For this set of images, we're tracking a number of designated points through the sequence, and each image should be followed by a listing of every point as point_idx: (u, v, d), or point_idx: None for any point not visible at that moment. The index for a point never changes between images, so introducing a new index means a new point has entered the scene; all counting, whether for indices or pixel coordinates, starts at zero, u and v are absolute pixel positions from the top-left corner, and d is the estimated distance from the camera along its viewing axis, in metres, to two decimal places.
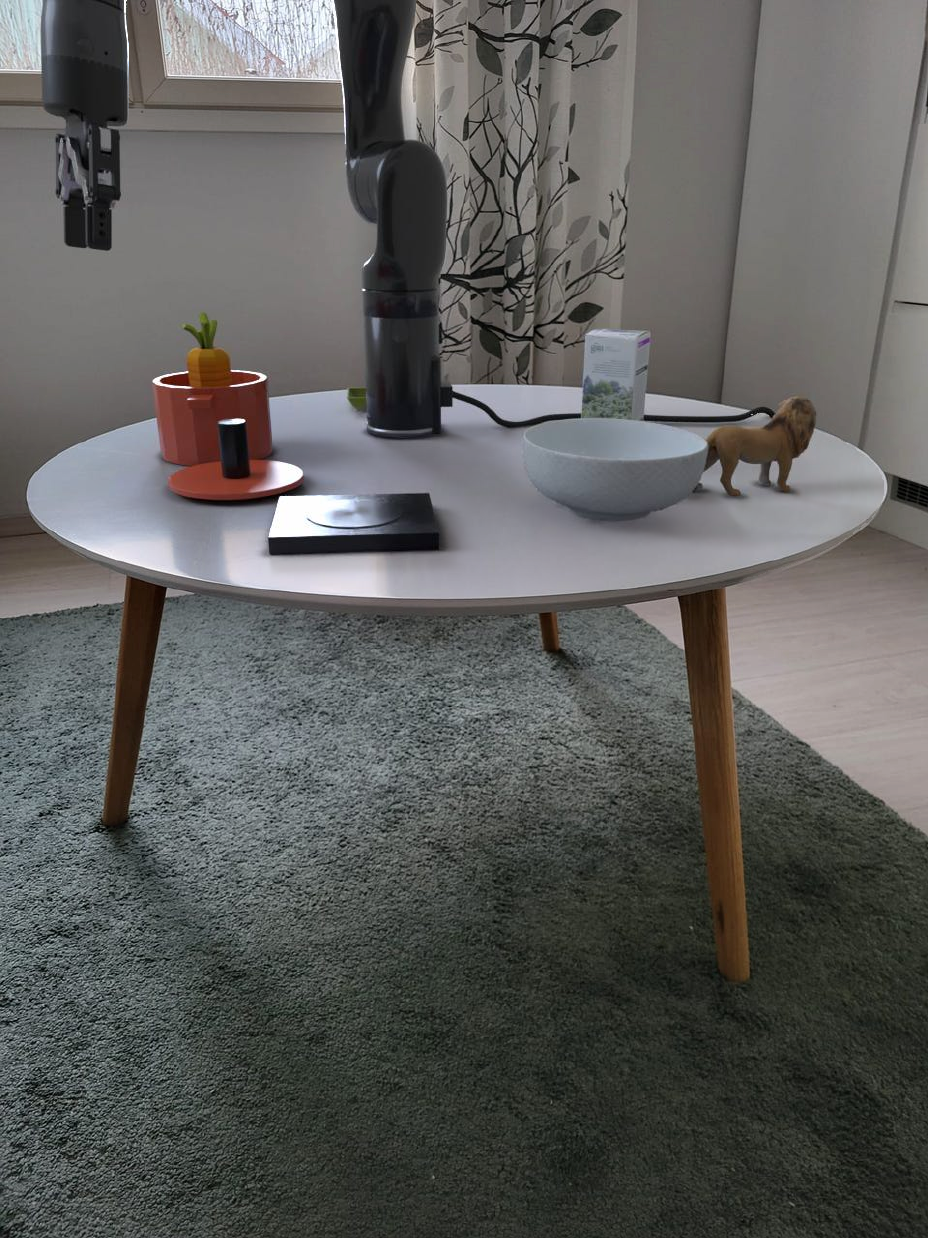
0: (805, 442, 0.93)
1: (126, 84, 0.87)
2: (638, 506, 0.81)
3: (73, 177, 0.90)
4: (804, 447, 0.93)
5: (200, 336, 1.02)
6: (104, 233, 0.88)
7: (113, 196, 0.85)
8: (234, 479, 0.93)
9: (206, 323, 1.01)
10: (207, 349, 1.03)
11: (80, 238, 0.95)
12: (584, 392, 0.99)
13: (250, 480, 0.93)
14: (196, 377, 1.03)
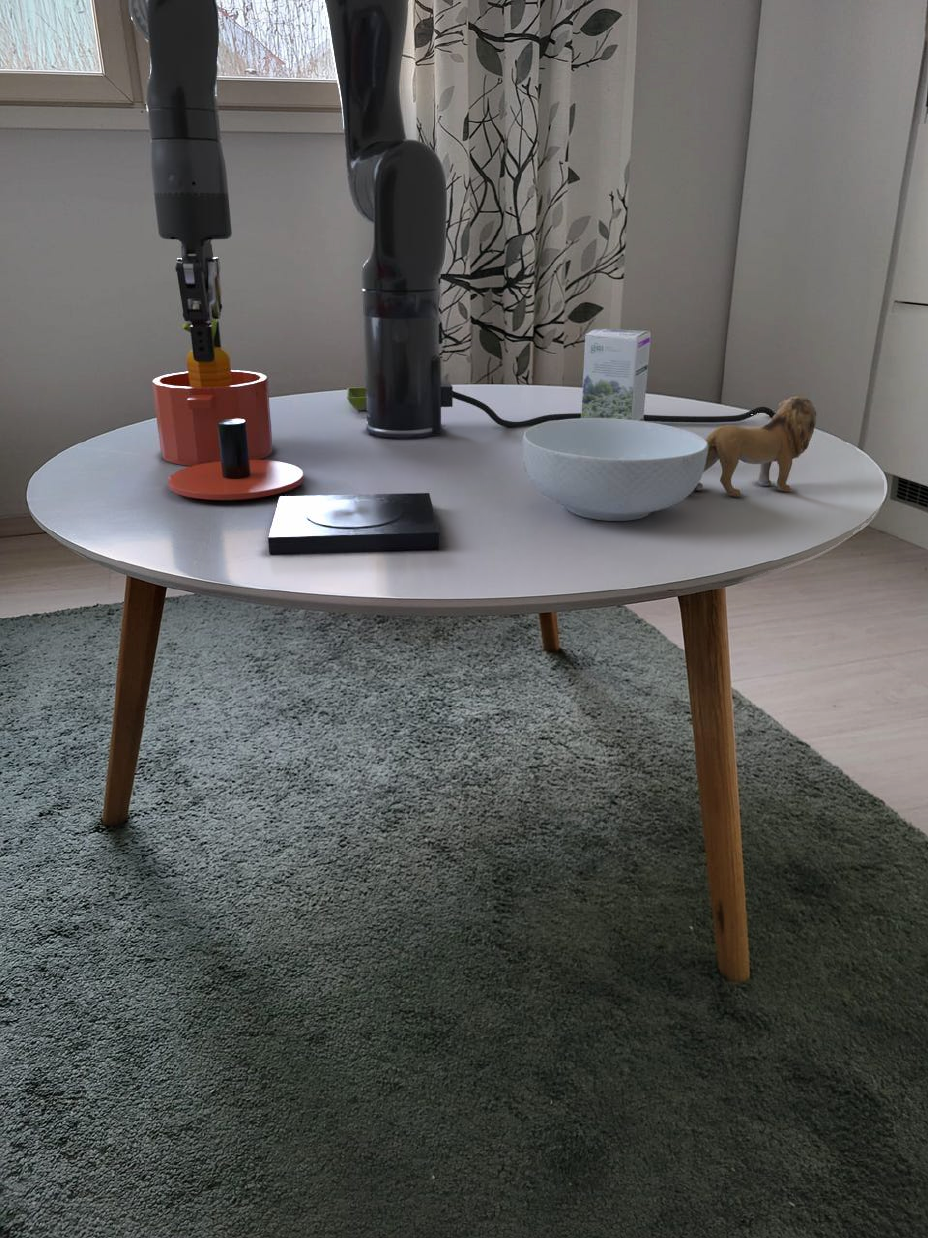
0: (805, 442, 0.93)
1: (221, 203, 0.96)
2: (638, 506, 0.81)
3: None
4: (804, 447, 0.93)
5: None
6: (204, 348, 1.00)
7: (202, 318, 0.97)
8: (234, 479, 0.93)
9: None
10: None
11: (213, 347, 1.06)
12: (584, 392, 0.99)
13: (250, 480, 0.93)
14: (196, 377, 1.03)
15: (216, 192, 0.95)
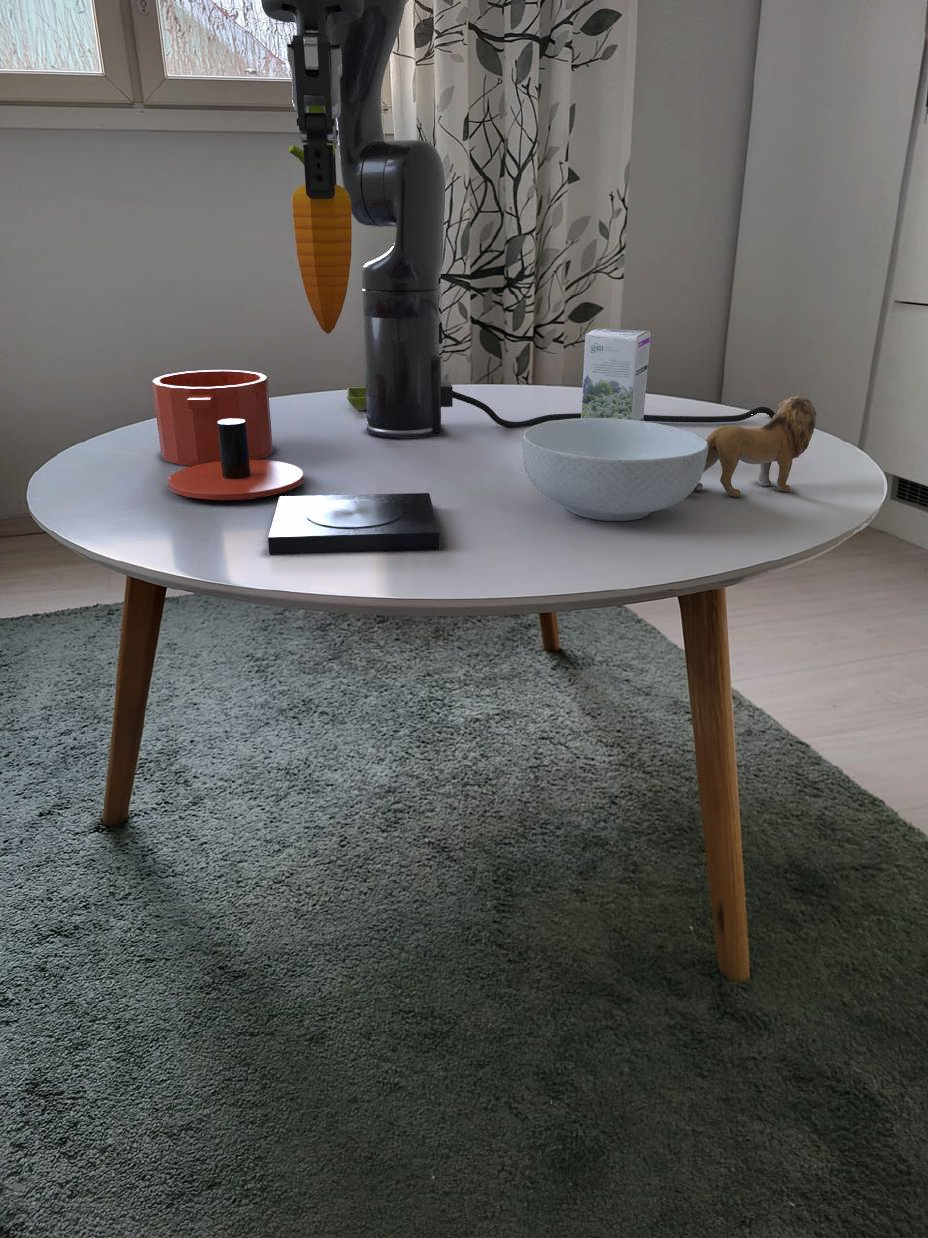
0: (805, 442, 0.93)
1: None
2: (638, 506, 0.81)
3: None
4: (804, 447, 0.93)
5: None
6: (323, 177, 0.70)
7: (324, 126, 0.67)
8: (234, 479, 0.93)
9: None
10: None
11: None
12: (584, 392, 0.99)
13: (250, 480, 0.93)
14: (306, 223, 0.73)
15: None
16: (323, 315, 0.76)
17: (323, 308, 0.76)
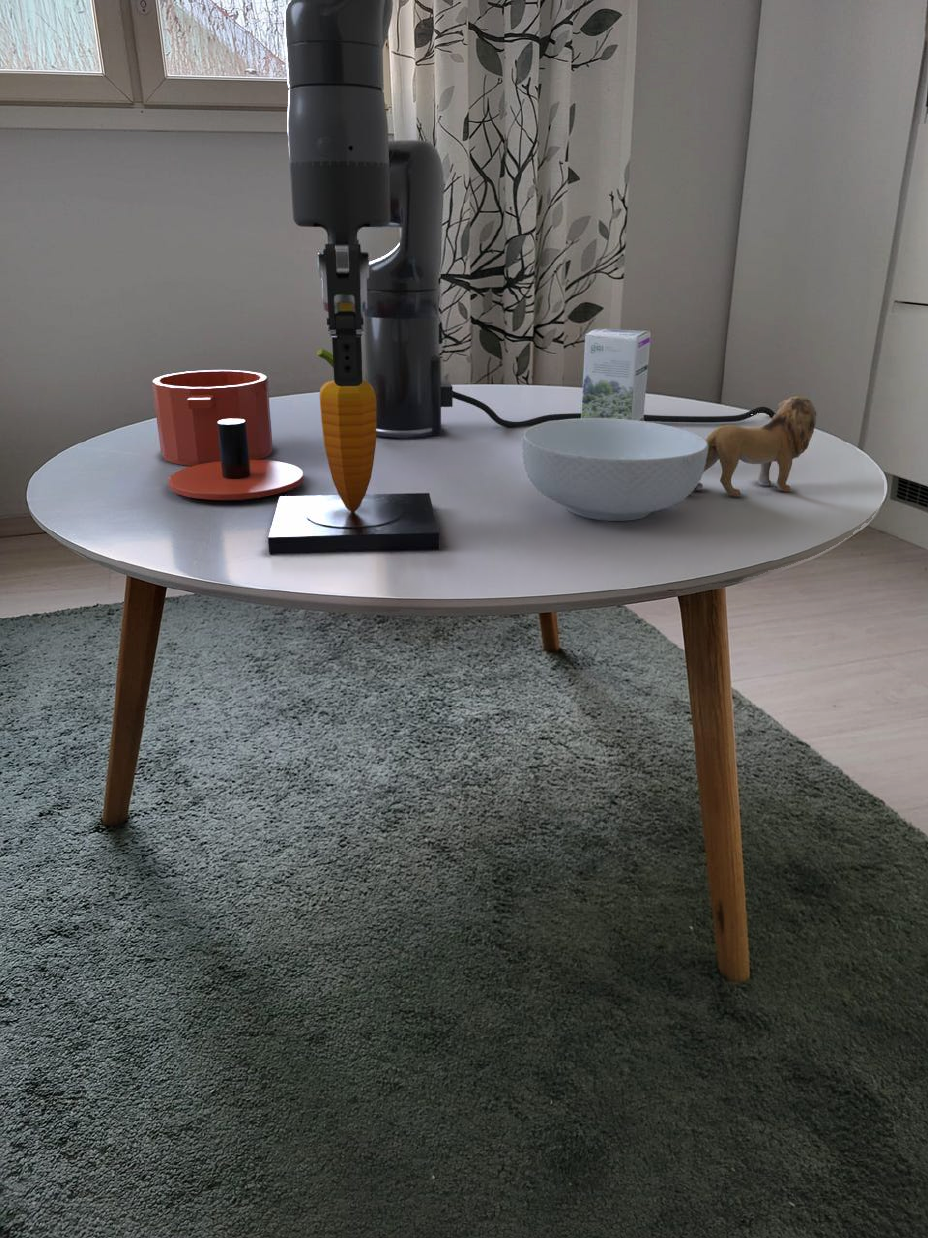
0: (805, 442, 0.93)
1: (382, 177, 0.70)
2: (638, 506, 0.81)
3: None
4: (804, 447, 0.93)
5: None
6: (351, 367, 0.72)
7: (353, 326, 0.69)
8: (234, 479, 0.93)
9: None
10: None
11: None
12: (584, 392, 0.99)
13: (250, 480, 0.93)
14: (334, 420, 0.77)
15: (378, 161, 0.69)
16: (349, 498, 0.80)
17: (349, 493, 0.80)
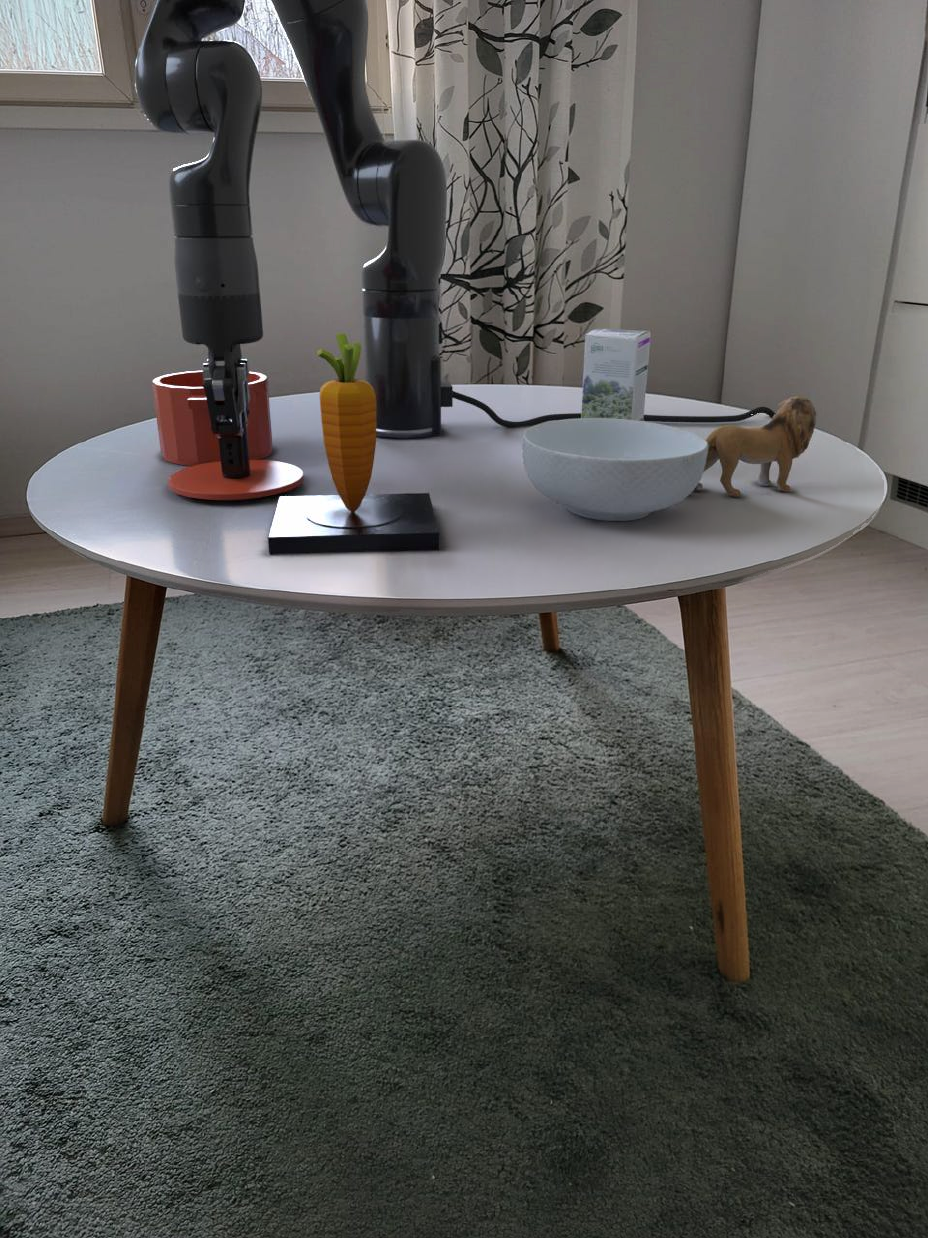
0: (805, 442, 0.93)
1: (252, 305, 0.86)
2: (638, 506, 0.81)
3: None
4: (804, 447, 0.93)
5: (339, 365, 0.76)
6: (234, 461, 0.91)
7: (232, 432, 0.88)
8: (234, 479, 0.93)
9: (351, 349, 0.74)
10: (349, 383, 0.76)
11: None
12: (584, 392, 0.99)
13: (250, 480, 0.93)
14: (334, 420, 0.77)
15: (247, 293, 0.86)
16: (349, 498, 0.80)
17: (349, 493, 0.80)
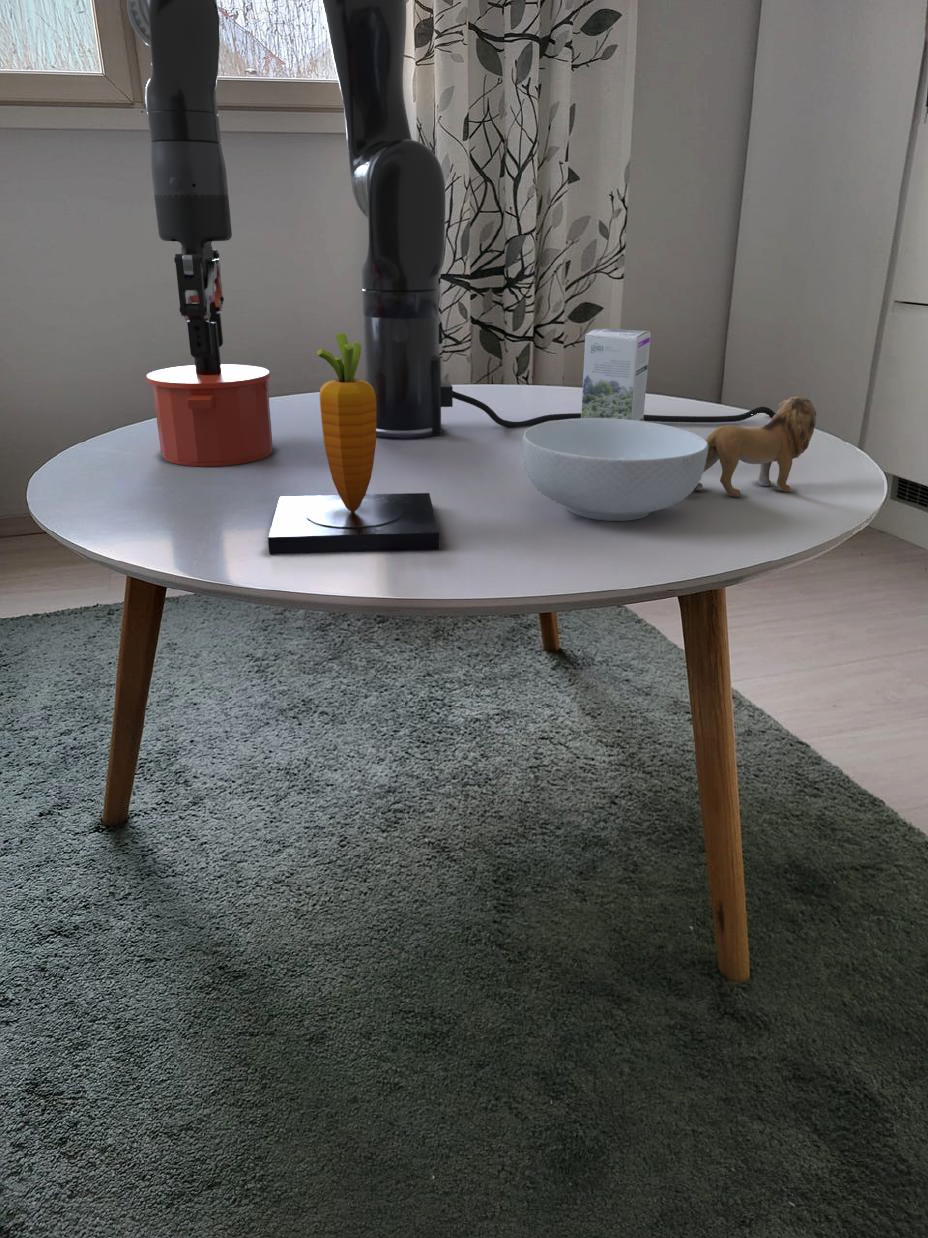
0: (805, 442, 0.93)
1: (221, 205, 0.96)
2: (638, 506, 0.81)
3: None
4: (804, 447, 0.93)
5: (339, 365, 0.76)
6: (202, 343, 0.98)
7: (199, 313, 0.96)
8: (206, 375, 1.03)
9: (351, 349, 0.74)
10: (349, 383, 0.76)
11: None
12: (584, 392, 0.99)
13: (220, 375, 1.03)
14: (334, 420, 0.77)
15: (216, 194, 0.96)
16: (349, 498, 0.80)
17: (349, 493, 0.80)
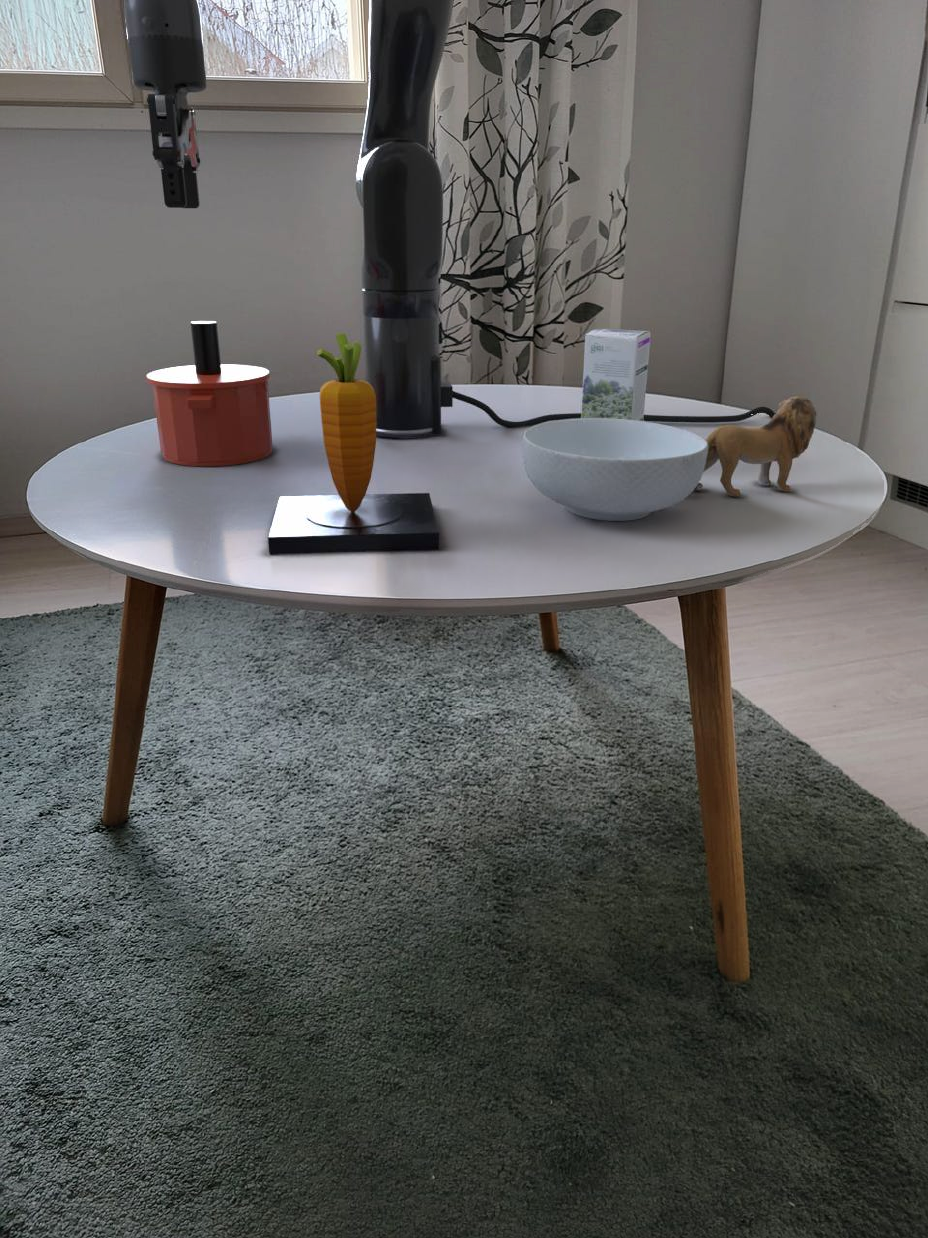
0: (805, 442, 0.93)
1: (195, 49, 0.96)
2: (638, 506, 0.81)
3: None
4: (804, 447, 0.93)
5: (339, 365, 0.76)
6: (175, 192, 0.98)
7: (172, 156, 0.95)
8: (206, 375, 1.03)
9: (351, 349, 0.74)
10: (349, 383, 0.76)
11: (191, 199, 1.06)
12: (584, 392, 0.99)
13: (220, 375, 1.03)
14: (334, 420, 0.77)
15: (190, 37, 0.95)
16: (349, 498, 0.80)
17: (349, 493, 0.80)
